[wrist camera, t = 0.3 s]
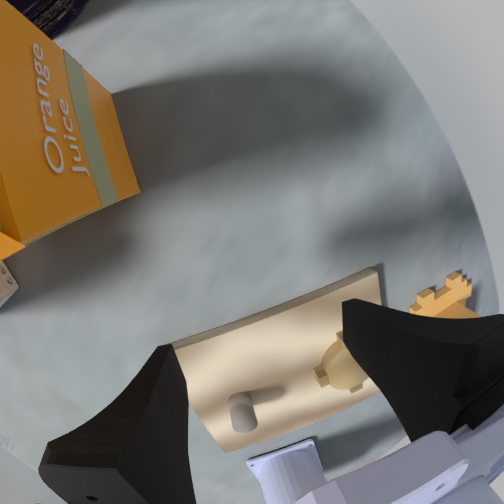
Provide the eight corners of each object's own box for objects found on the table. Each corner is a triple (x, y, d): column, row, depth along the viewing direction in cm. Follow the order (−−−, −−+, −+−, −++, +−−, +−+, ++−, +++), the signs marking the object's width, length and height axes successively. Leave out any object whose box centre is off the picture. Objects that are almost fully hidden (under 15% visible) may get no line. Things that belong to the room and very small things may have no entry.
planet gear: (461, 335, 29) (487, 353, 24) (402, 374, 28) (427, 399, 23) (466, 264, 26) (498, 279, 21) (401, 302, 25) (434, 326, 20)
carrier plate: (380, 381, 27) (400, 404, 23) (223, 444, 26) (228, 475, 22) (369, 267, 23) (399, 285, 19) (160, 346, 22) (156, 379, 18)
